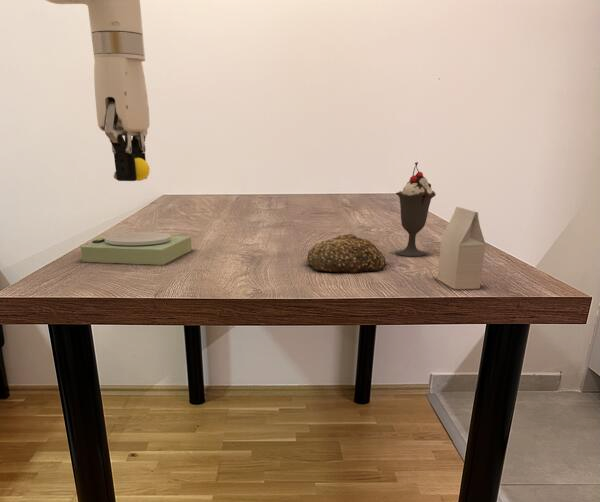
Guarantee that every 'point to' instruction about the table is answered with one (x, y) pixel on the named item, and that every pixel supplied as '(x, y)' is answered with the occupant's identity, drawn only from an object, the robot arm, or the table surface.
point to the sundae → (414, 209)
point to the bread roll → (345, 255)
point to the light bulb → (140, 169)
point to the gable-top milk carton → (462, 251)
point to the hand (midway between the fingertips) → (132, 178)
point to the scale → (136, 248)
